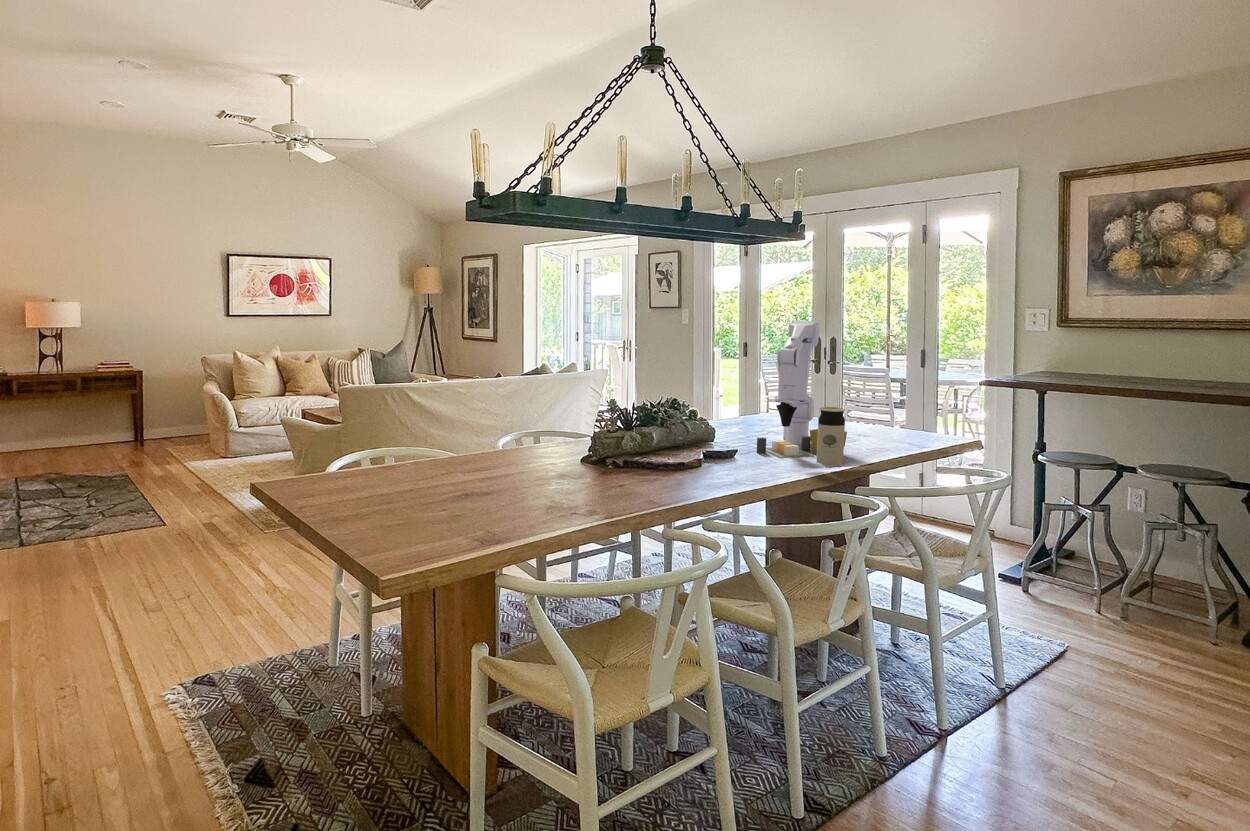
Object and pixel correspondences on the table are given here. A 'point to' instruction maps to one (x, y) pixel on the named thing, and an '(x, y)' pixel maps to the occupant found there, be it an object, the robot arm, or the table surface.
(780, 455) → the panel
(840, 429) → the travel mug
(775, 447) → the block
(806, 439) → the cylinder
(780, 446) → the block
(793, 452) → the block
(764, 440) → the cord post
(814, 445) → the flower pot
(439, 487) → the table surface
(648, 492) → the table surface
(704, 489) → the table surface
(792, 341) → the robot arm
